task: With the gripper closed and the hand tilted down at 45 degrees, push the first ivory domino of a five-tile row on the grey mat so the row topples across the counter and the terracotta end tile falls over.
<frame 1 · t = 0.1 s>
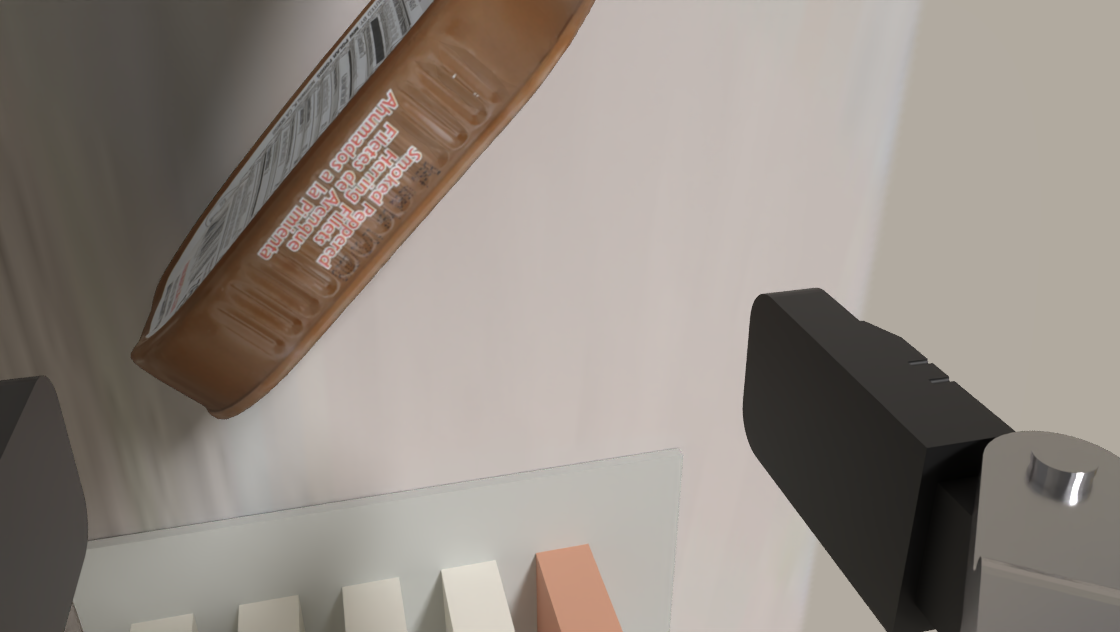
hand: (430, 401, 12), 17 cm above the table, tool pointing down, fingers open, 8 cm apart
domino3: (377, 631, 36), resting on mat
mat: (403, 618, 37), on the table
tin: (344, 89, 27), on the table
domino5: (562, 597, 38), resting on mat
domino4: (471, 614, 37), resting on mat
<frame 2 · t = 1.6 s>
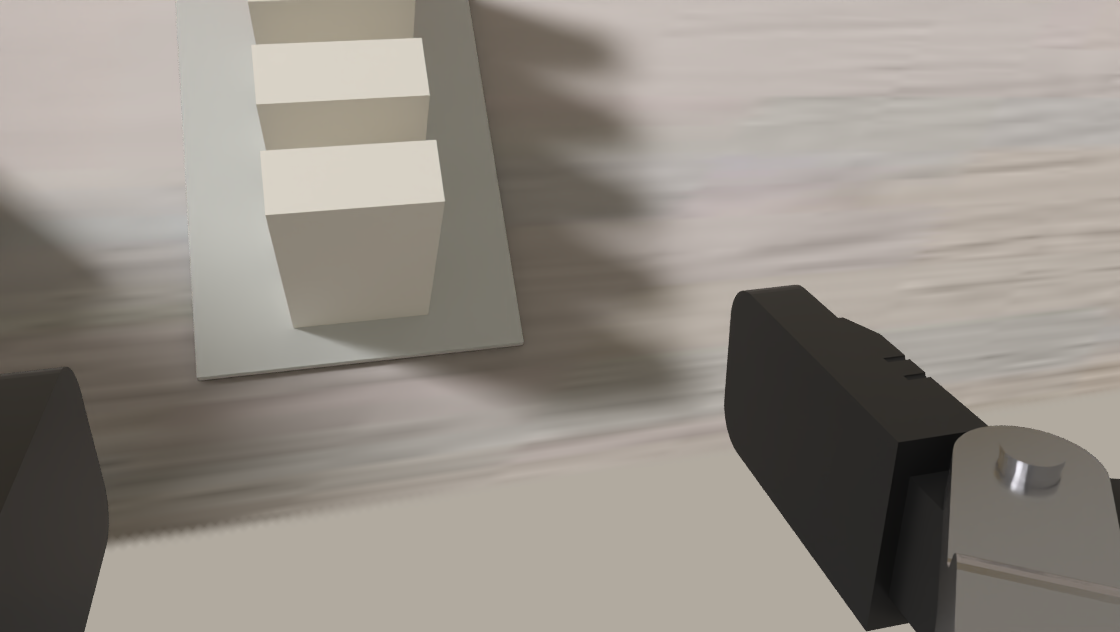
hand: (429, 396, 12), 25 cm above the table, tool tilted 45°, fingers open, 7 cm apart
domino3: (340, 133, 40), resting on mat
mat: (338, 116, 40), on the table
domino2: (349, 212, 39), resting on mat
domino1: (359, 296, 38), resting on mat
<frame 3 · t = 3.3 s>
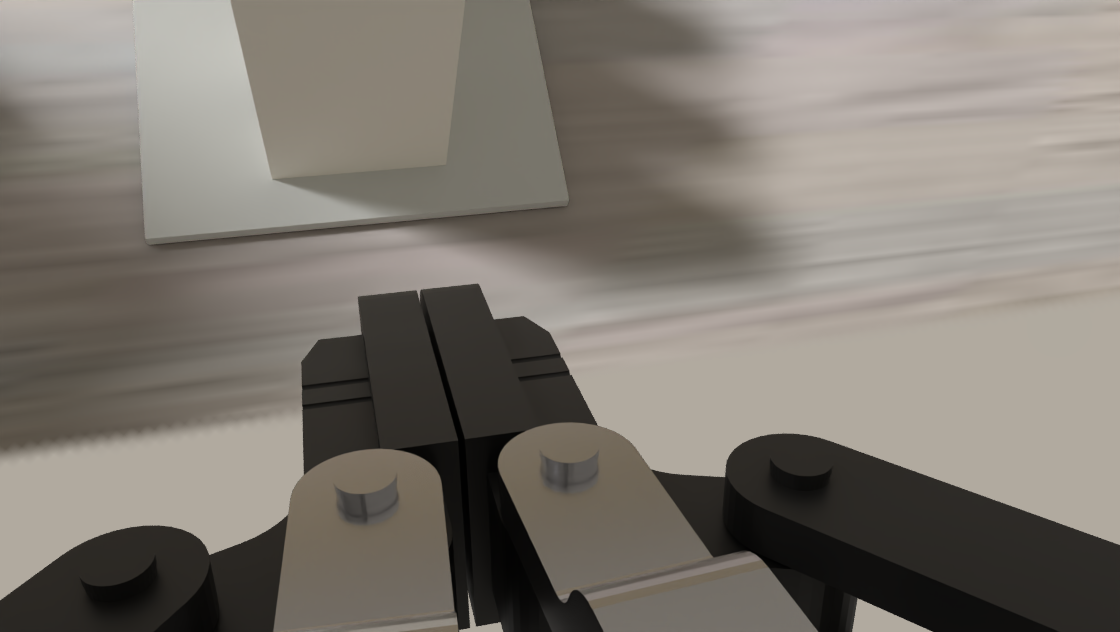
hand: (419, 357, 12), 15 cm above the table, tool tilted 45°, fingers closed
domino1: (356, 141, 29), resting on mat
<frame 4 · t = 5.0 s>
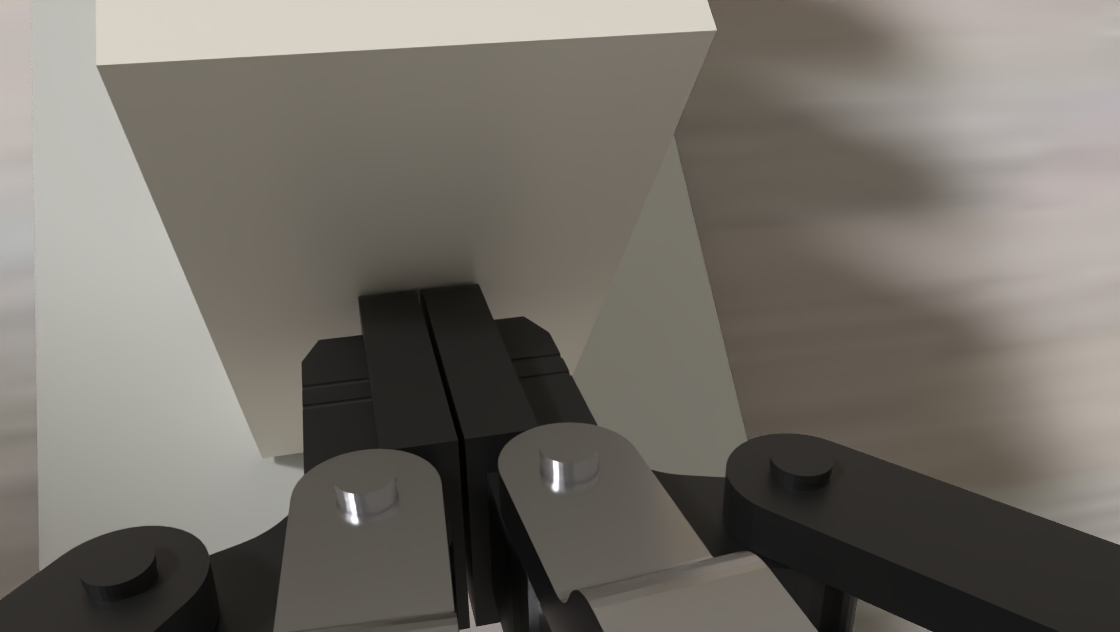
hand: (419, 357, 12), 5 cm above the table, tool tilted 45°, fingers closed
mat: (355, 16, 20), on the table
domino1: (405, 383, 17), resting on mat, tilted 6°
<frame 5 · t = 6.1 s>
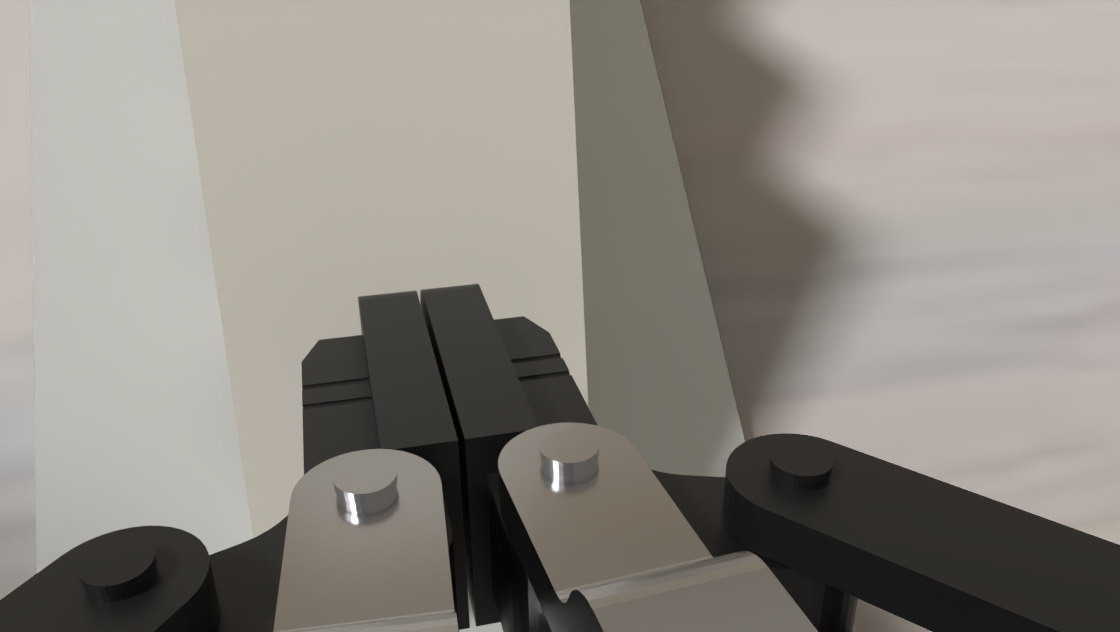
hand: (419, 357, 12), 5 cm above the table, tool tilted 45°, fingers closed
mat: (374, 175, 19), on the table
domino1: (427, 539, 16), point 1 cm above the table, tilted 56°, touching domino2, mat
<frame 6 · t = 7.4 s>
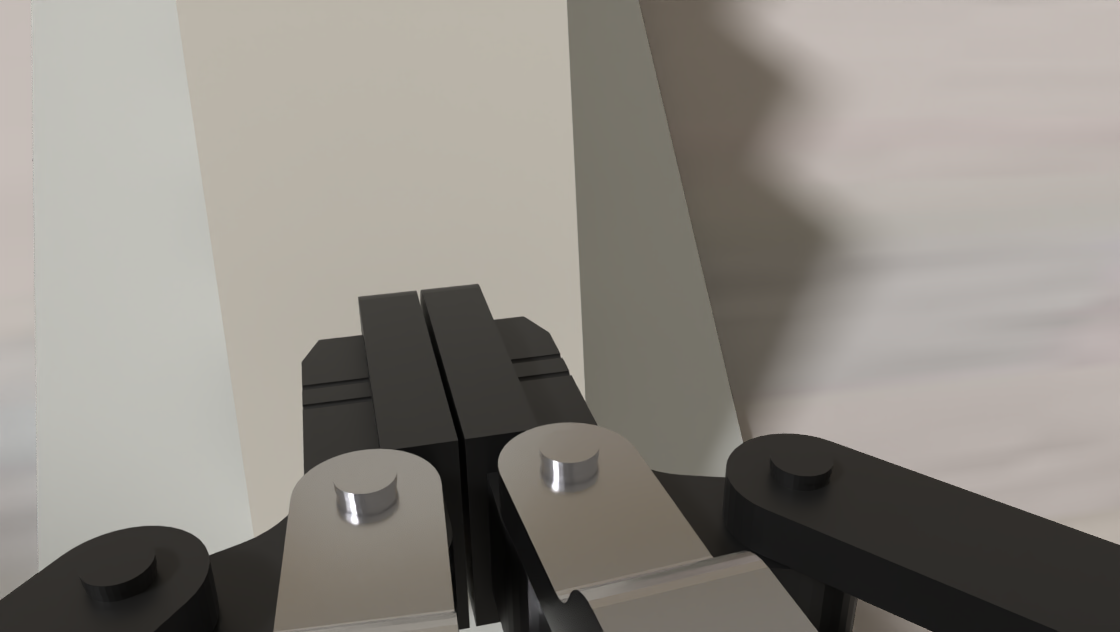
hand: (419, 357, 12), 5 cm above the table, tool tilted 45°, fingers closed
mat: (373, 171, 19), on the table
domino1: (425, 533, 16), point 1 cm above the table, tilted 56°, touching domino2, mat
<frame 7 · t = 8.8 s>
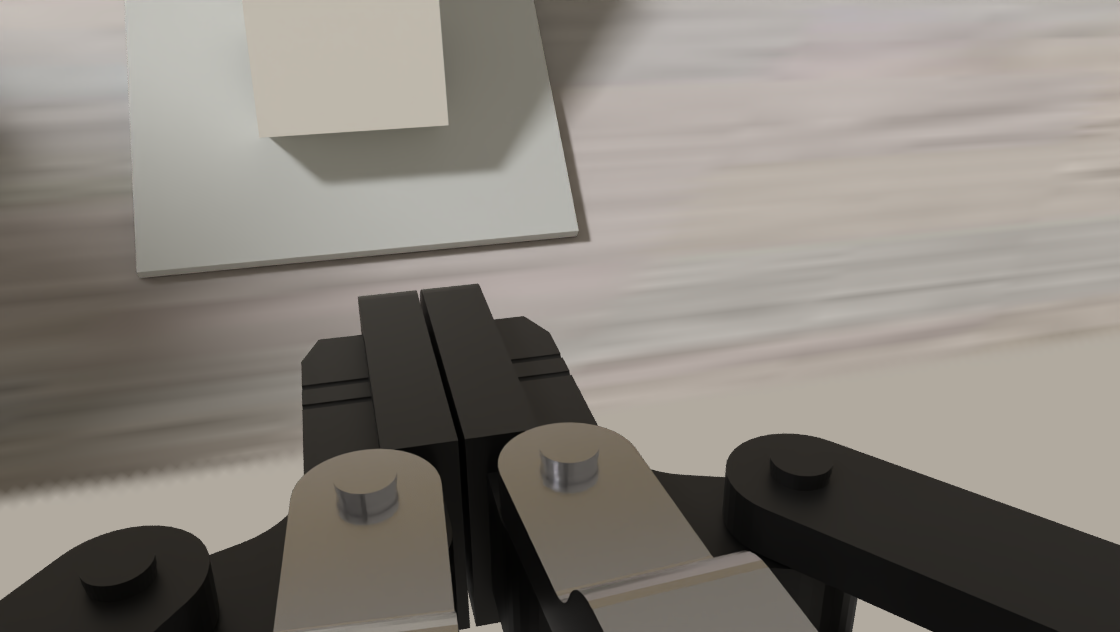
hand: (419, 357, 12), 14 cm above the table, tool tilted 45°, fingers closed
domino1: (354, 128, 27), point 1 cm above the table, tilted 56°, touching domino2, mat
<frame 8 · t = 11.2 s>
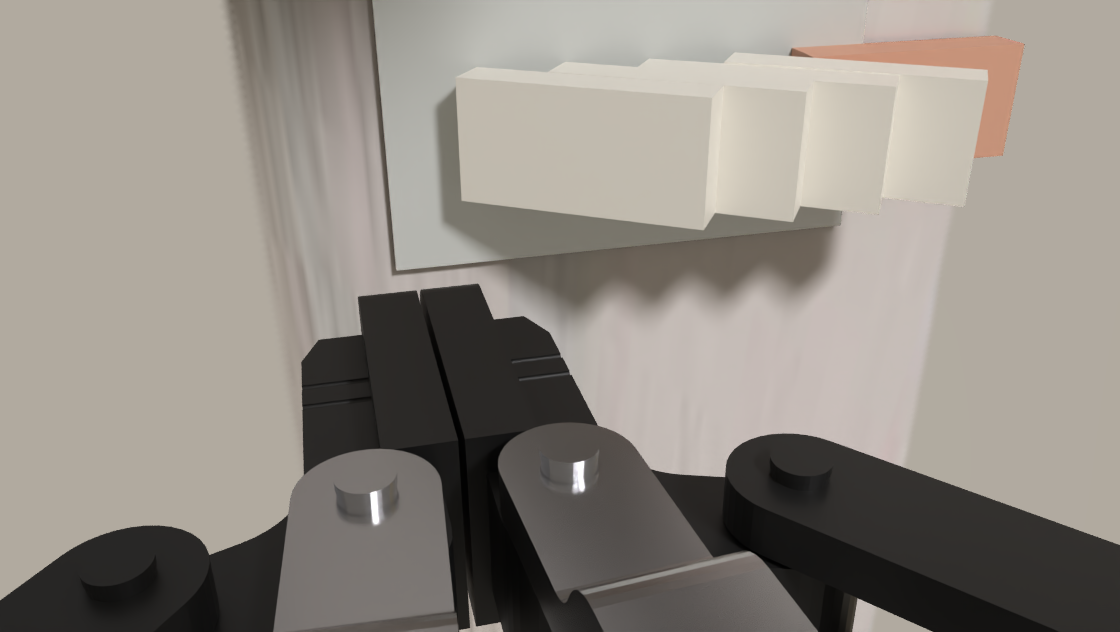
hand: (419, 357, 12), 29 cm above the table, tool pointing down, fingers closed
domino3: (641, 123, 42), point 1 cm above the table, tilted 56°, touching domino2, domino4, mat
mat: (629, 114, 43), on the table
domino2: (557, 127, 41), point 1 cm above the table, tilted 56°, touching domino1, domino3, mat
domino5: (796, 110, 43), point 1 cm above the table, tilted 90°, touching domino4, mat
domino1: (469, 134, 40), point 1 cm above the table, tilted 56°, touching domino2, mat
domino4: (725, 116, 42), point 1 cm above the table, tilted 56°, touching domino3, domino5
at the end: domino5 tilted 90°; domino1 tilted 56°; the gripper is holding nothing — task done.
